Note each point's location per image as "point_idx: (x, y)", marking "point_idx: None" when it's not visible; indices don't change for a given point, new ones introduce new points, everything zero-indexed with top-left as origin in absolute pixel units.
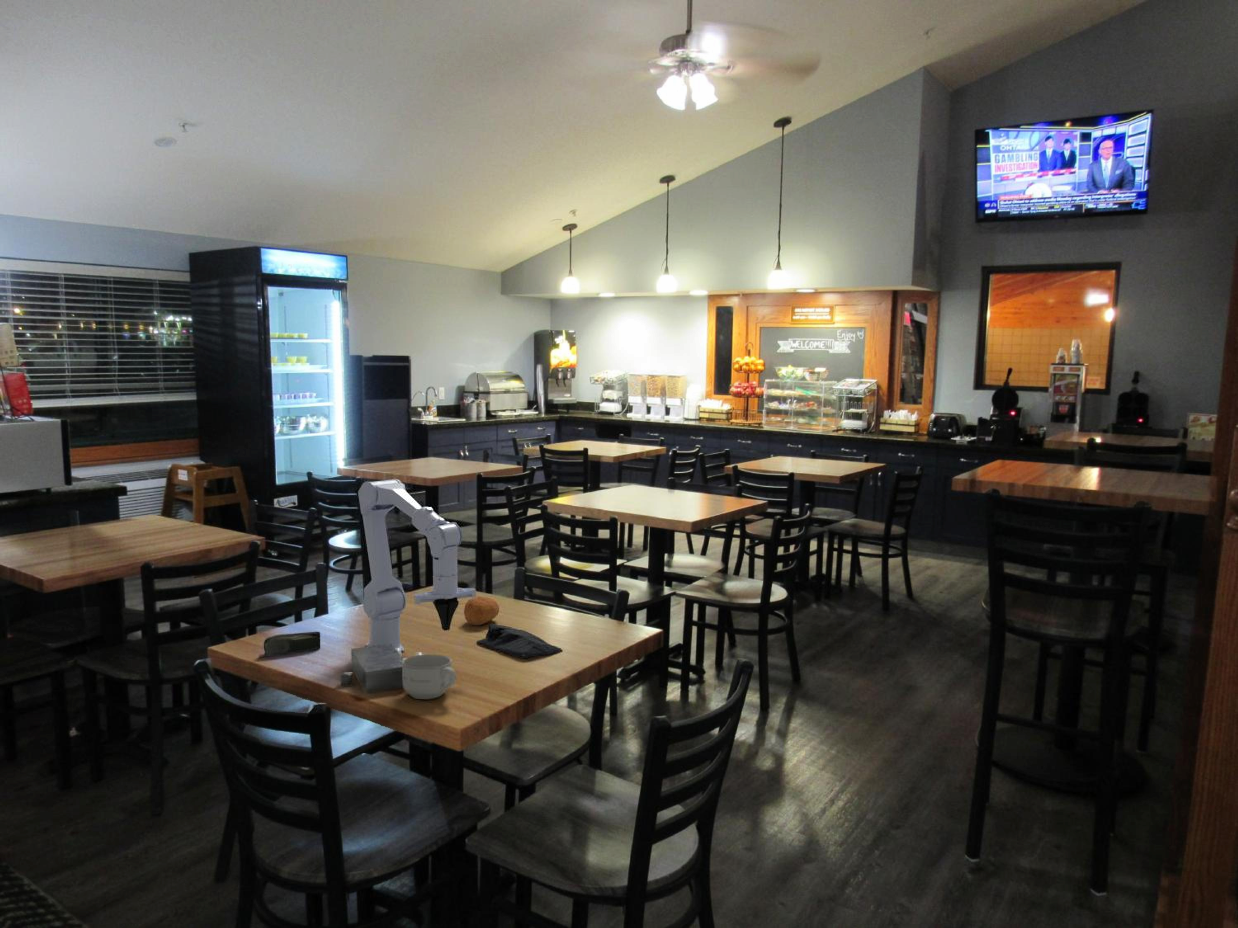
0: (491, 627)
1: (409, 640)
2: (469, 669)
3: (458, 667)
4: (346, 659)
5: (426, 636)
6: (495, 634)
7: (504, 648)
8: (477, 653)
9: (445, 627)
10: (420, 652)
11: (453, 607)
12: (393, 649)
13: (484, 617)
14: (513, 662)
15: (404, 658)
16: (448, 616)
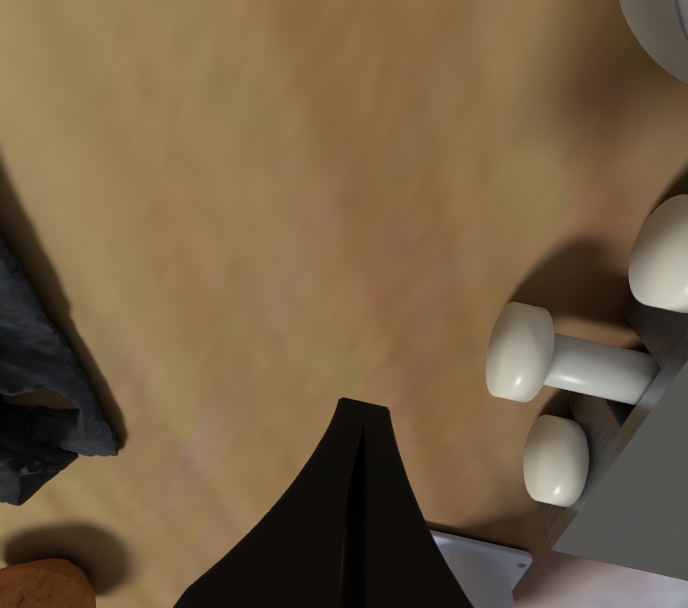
0: (16, 480)
1: None
2: (277, 185)
3: (314, 248)
4: (629, 574)
5: None
6: (21, 438)
7: (18, 290)
8: (157, 353)
9: (380, 419)
10: (515, 381)
11: (268, 583)
12: (609, 486)
13: (25, 577)
14: (17, 132)
15: (608, 385)
16: (347, 496)
